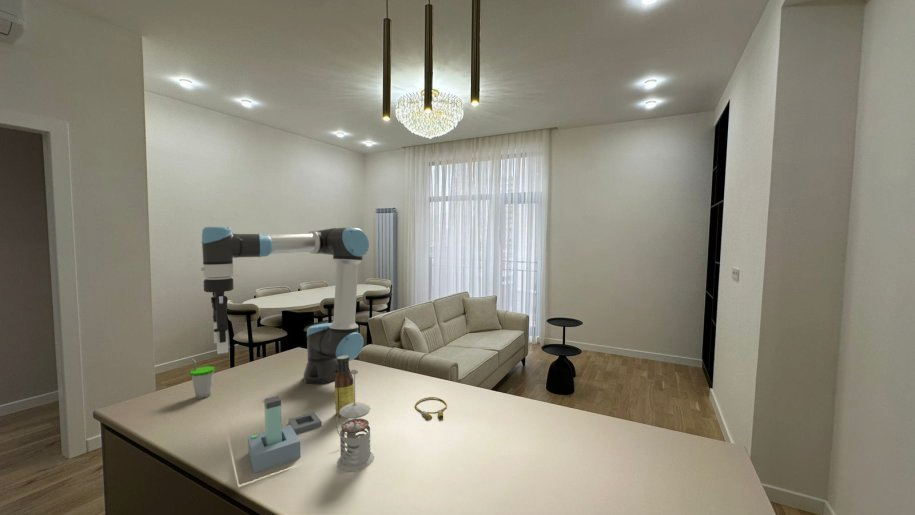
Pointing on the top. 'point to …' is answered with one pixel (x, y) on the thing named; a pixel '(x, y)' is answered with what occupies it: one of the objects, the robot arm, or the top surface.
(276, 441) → the plug
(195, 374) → the cup
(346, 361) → the sauce bottle
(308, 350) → the robot arm
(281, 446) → the port
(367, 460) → the french press
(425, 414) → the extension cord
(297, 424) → the holster
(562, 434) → the top surface
